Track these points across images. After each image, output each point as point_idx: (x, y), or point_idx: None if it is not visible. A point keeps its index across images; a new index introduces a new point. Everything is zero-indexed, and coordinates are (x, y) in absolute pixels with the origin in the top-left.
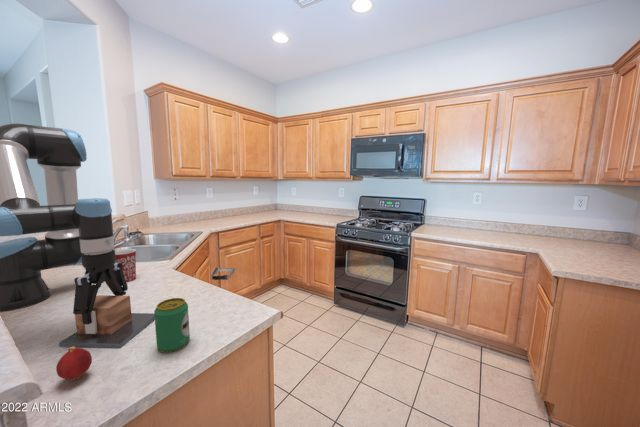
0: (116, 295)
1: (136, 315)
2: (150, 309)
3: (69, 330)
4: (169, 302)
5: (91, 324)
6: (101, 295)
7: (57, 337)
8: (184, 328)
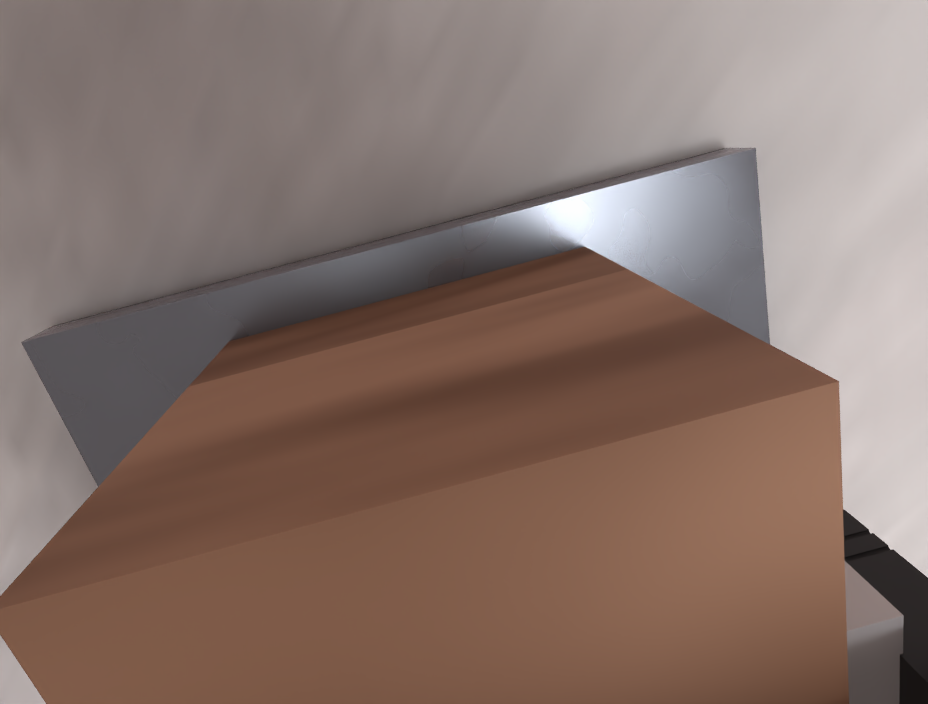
0: (906, 683)
1: None
2: (919, 487)
3: (306, 11)
4: None
5: None
6: (832, 478)
7: (138, 53)
8: None
